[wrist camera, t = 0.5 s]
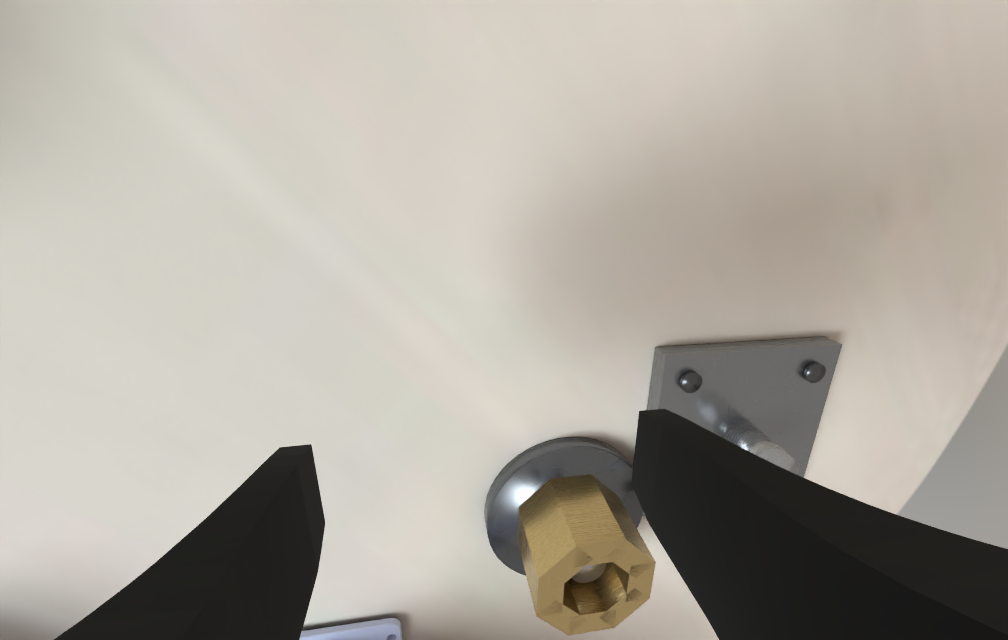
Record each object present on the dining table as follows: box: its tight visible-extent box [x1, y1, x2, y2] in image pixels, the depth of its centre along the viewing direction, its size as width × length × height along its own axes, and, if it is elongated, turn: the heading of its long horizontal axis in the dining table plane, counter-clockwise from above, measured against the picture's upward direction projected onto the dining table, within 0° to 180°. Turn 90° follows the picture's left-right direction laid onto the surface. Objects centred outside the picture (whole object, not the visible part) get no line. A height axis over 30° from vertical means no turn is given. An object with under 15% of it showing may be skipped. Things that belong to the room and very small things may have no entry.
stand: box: [485, 437, 643, 583], centre depth 22 cm, size 8×8×4 cm
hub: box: [642, 337, 842, 516], centre depth 22 cm, size 9×9×4 cm
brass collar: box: [517, 474, 656, 635], centre depth 21 cm, size 5×5×4 cm
